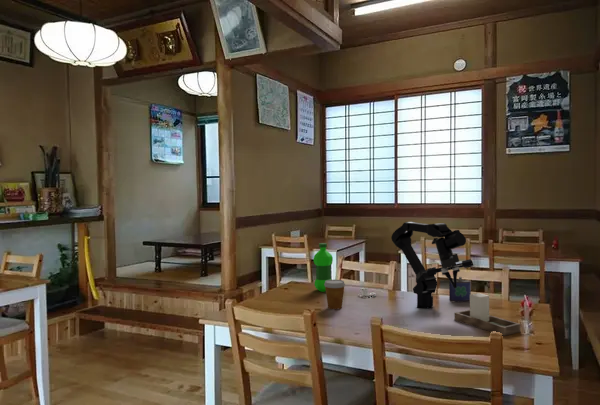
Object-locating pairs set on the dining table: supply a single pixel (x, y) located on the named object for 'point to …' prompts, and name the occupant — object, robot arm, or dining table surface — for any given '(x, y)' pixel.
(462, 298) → the flask
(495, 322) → the walnut box
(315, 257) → the plastic bottle
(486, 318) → the cream block
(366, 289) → the teacup and saucer
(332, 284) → the disposable coffee cup
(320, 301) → the dining table surface
